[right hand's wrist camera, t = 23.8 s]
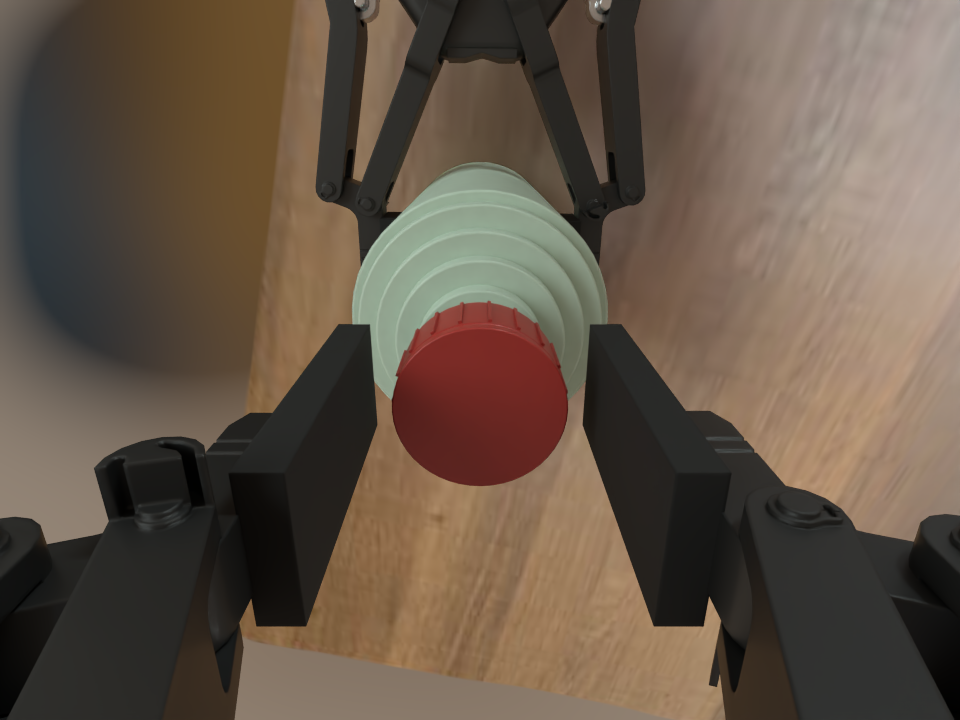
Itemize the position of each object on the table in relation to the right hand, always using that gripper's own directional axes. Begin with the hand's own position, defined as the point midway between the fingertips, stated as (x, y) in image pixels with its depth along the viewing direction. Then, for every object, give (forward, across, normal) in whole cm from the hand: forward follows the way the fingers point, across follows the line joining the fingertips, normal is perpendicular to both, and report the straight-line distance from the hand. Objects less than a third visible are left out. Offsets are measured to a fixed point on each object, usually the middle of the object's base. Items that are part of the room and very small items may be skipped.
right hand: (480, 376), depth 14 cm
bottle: (+22, 0, 0) cm, 22 cm away
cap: (-2, 0, 0) cm, 2 cm away
